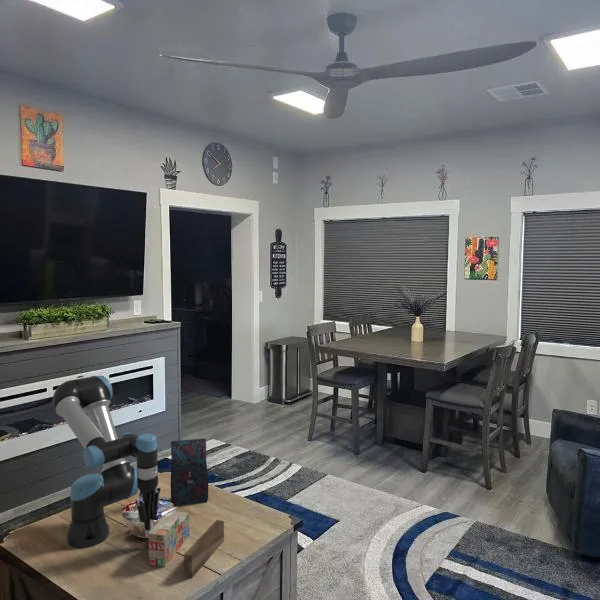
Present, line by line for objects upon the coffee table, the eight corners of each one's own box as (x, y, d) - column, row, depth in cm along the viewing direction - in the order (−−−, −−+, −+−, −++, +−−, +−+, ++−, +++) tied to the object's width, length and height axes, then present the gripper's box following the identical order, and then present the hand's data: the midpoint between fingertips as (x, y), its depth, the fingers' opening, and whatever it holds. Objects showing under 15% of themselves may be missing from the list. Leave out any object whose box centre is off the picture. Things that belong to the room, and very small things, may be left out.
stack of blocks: (174, 533, 202) (174, 503, 201) (189, 535, 201) (189, 505, 200) (148, 565, 181) (147, 532, 180) (164, 567, 180) (164, 534, 179)
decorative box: (171, 498, 231) (169, 438, 229) (207, 494, 235) (206, 435, 233) (170, 506, 223) (169, 444, 221) (208, 502, 227) (208, 441, 225)
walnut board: (184, 576, 175) (184, 554, 174) (217, 539, 198) (216, 519, 197) (192, 578, 174) (191, 555, 173) (224, 540, 197) (223, 521, 196)
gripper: (145, 484, 184) (147, 547, 185) (166, 470, 196) (167, 529, 198) (128, 482, 186) (130, 544, 188) (149, 468, 198) (151, 526, 200)
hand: (149, 536), depth 193 cm, fingers closed
